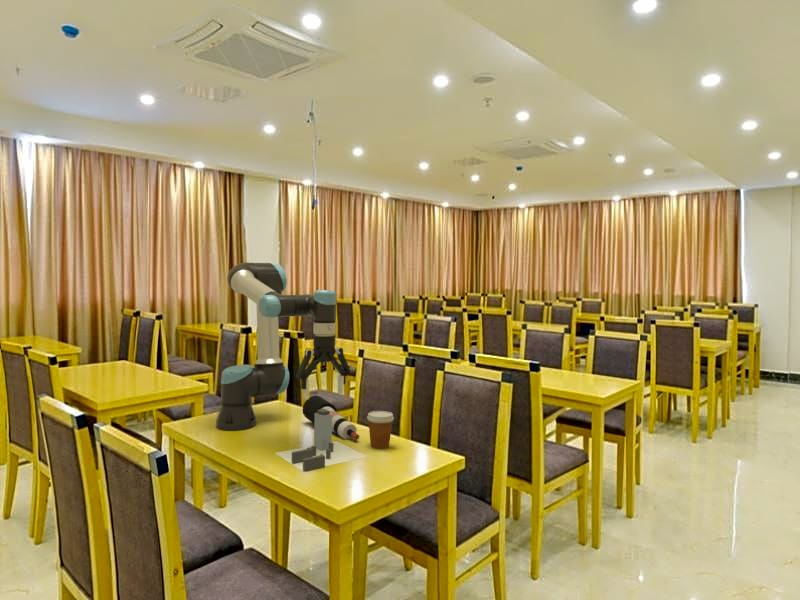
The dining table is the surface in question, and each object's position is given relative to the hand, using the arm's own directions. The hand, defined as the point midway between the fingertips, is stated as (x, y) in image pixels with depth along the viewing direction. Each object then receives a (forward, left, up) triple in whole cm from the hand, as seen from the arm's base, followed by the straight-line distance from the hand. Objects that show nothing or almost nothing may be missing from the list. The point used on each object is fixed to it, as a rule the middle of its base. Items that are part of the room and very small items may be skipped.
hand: (323, 396), depth 187 cm
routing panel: (+6, -4, -19) cm, 20 cm away
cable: (-16, +14, -19) cm, 29 cm away
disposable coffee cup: (+9, +18, -19) cm, 28 cm away
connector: (0, 0, -18) cm, 18 cm away
